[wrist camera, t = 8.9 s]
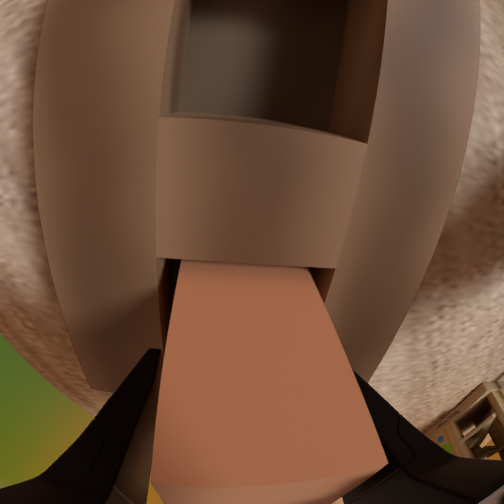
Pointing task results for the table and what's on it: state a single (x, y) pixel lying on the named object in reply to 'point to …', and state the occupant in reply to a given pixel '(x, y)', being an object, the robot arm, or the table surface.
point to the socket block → (246, 156)
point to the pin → (257, 393)
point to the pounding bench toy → (473, 424)
